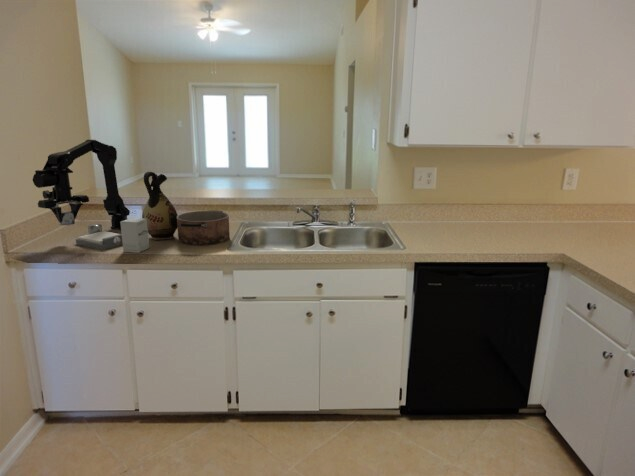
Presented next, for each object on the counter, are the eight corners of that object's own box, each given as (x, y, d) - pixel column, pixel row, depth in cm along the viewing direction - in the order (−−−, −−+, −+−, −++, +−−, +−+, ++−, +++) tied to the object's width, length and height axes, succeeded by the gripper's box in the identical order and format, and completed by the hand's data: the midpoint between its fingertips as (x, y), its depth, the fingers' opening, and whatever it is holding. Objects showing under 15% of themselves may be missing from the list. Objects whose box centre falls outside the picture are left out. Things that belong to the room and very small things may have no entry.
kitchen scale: (105, 236, 190) (104, 228, 189) (131, 242, 182) (131, 233, 181) (76, 244, 178) (75, 235, 177) (102, 250, 170) (101, 240, 169)
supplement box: (139, 253, 167) (136, 222, 164) (122, 251, 168) (119, 221, 165) (150, 248, 174) (147, 218, 171) (134, 246, 175) (131, 217, 172)
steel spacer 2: (97, 233, 195) (96, 223, 194) (105, 235, 193) (104, 224, 191) (86, 236, 190) (85, 225, 189) (94, 238, 188) (92, 227, 186)
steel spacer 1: (69, 221, 182) (68, 210, 181) (77, 223, 180) (76, 211, 179) (57, 224, 178) (55, 212, 176) (65, 225, 175) (63, 214, 174)
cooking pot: (214, 250, 173) (212, 224, 170) (164, 246, 177) (162, 221, 174) (239, 232, 202) (238, 210, 199) (196, 229, 205) (194, 208, 202)
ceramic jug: (159, 232, 199) (153, 168, 192) (186, 235, 194) (182, 170, 187) (133, 241, 184) (125, 172, 176) (162, 244, 179) (156, 174, 171)
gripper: (71, 180, 186) (76, 215, 190) (27, 185, 170) (33, 223, 174) (87, 182, 181) (92, 218, 185) (43, 188, 165) (49, 226, 169)
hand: (67, 221), depth 179 cm, fingers closed on steel spacer 1, 5 cm apart
